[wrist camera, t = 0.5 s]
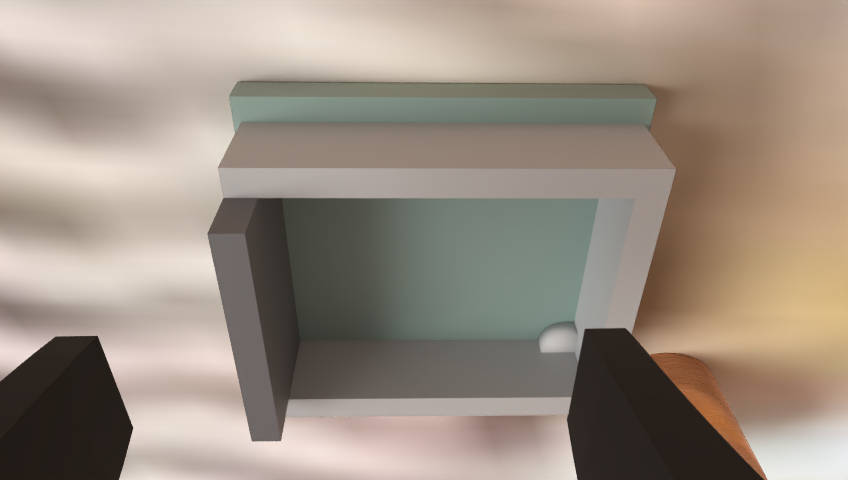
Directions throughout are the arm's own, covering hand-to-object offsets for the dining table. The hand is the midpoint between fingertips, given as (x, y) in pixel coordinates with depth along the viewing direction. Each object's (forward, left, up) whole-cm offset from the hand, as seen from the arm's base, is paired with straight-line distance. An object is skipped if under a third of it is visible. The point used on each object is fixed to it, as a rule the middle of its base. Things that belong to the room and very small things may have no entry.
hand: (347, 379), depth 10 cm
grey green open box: (-4, -2, -10) cm, 11 cm away
